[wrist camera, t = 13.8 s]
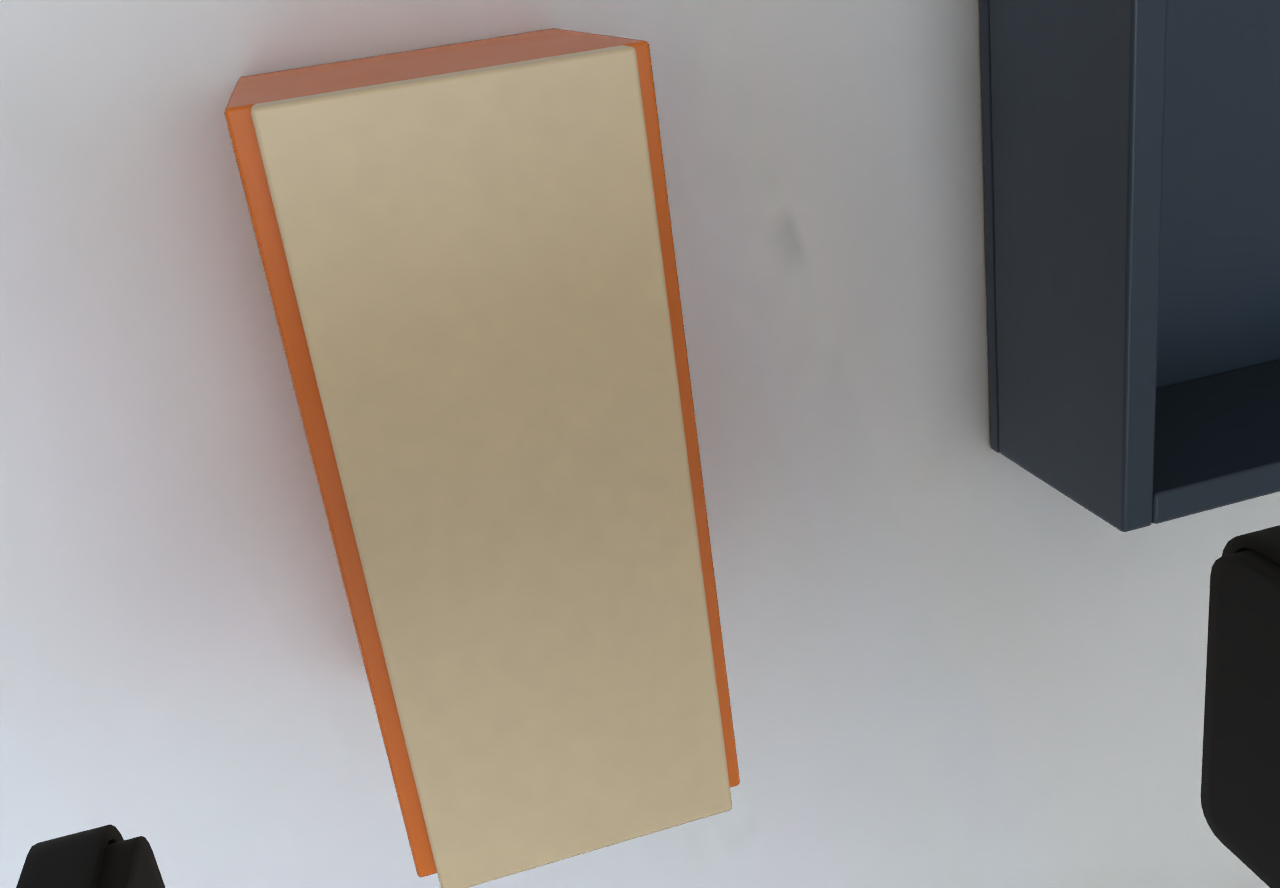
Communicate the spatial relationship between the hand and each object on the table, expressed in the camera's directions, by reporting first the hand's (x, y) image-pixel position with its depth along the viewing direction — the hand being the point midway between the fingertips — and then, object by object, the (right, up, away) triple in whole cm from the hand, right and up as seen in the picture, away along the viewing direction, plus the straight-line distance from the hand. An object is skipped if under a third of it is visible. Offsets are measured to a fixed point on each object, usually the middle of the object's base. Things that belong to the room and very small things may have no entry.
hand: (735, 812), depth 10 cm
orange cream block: (-4, +4, +11) cm, 12 cm away
